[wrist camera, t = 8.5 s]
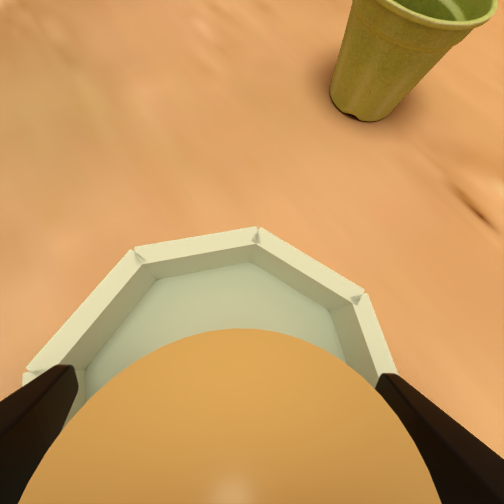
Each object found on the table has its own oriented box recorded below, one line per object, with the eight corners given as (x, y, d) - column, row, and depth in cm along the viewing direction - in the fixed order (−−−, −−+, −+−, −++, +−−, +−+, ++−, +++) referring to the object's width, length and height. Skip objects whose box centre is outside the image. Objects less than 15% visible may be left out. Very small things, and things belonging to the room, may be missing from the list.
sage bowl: (406, 514, 14) (475, 576, 10) (77, 649, 11) (2, 803, 7) (314, 239, 19) (336, 212, 15) (73, 284, 16) (27, 264, 12)
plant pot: (376, 57, 27) (441, -68, 19) (427, 125, 24) (529, 12, 16) (295, 71, 25) (330, -62, 17) (342, 147, 22) (409, 32, 14)
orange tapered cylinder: (247, 471, 13) (398, 1244, 2) (160, 420, 13) (-178, 787, 2) (288, 371, 15) (491, 437, 4) (209, 329, 15) (169, 268, 4)
